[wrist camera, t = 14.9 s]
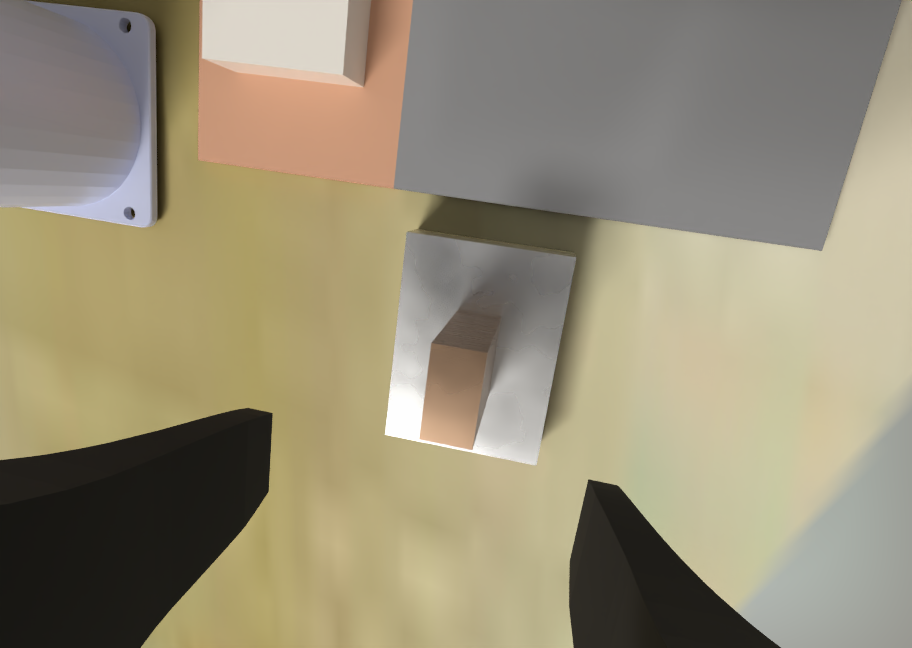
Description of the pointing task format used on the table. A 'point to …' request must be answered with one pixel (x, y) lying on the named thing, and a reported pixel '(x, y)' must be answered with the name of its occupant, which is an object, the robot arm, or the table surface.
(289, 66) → the block
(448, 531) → the table surface
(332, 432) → the table surface
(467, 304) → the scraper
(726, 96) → the mat
